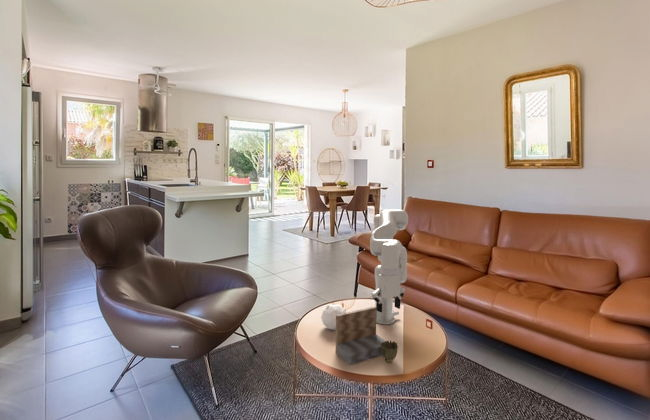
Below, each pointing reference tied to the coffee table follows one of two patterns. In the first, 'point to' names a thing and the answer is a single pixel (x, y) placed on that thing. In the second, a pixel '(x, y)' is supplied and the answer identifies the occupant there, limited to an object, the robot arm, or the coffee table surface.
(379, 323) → the robot arm
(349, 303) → the coffee table surface
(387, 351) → the cup
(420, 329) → the coffee table surface
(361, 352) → the board
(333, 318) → the geodesic sphere
